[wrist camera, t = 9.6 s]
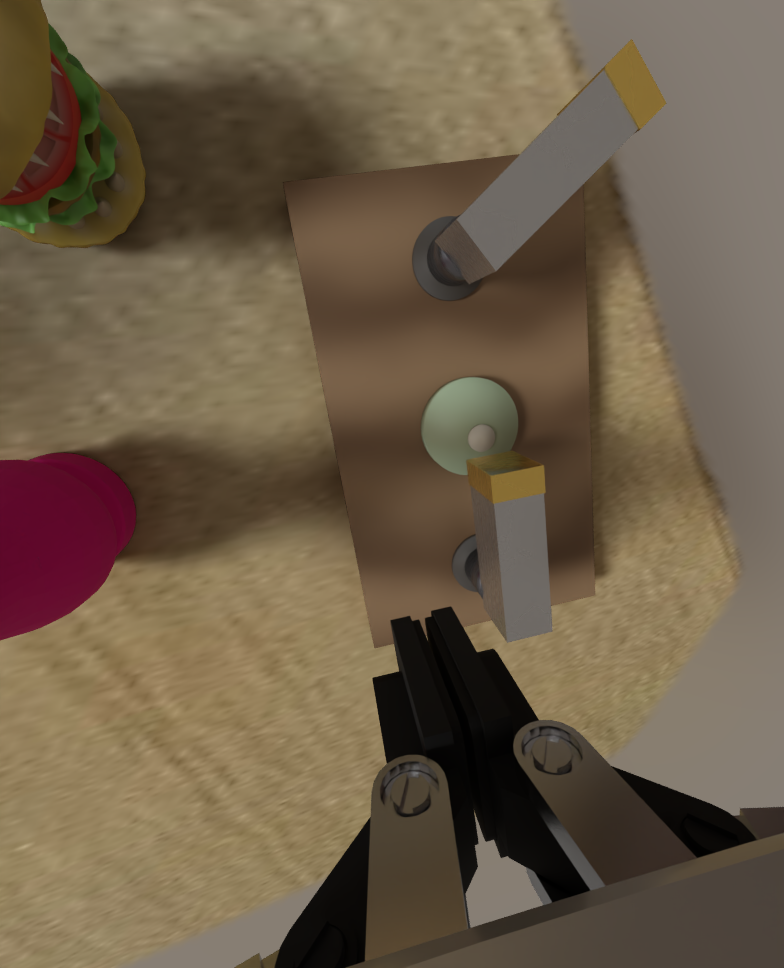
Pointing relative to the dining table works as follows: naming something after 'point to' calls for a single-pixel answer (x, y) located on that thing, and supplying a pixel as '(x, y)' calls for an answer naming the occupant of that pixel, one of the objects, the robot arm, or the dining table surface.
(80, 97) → the hamburger
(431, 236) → the level plate
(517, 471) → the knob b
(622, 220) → the dining table surface
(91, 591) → the pepper mill
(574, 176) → the gold-tipped grey bar
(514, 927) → the robot arm
